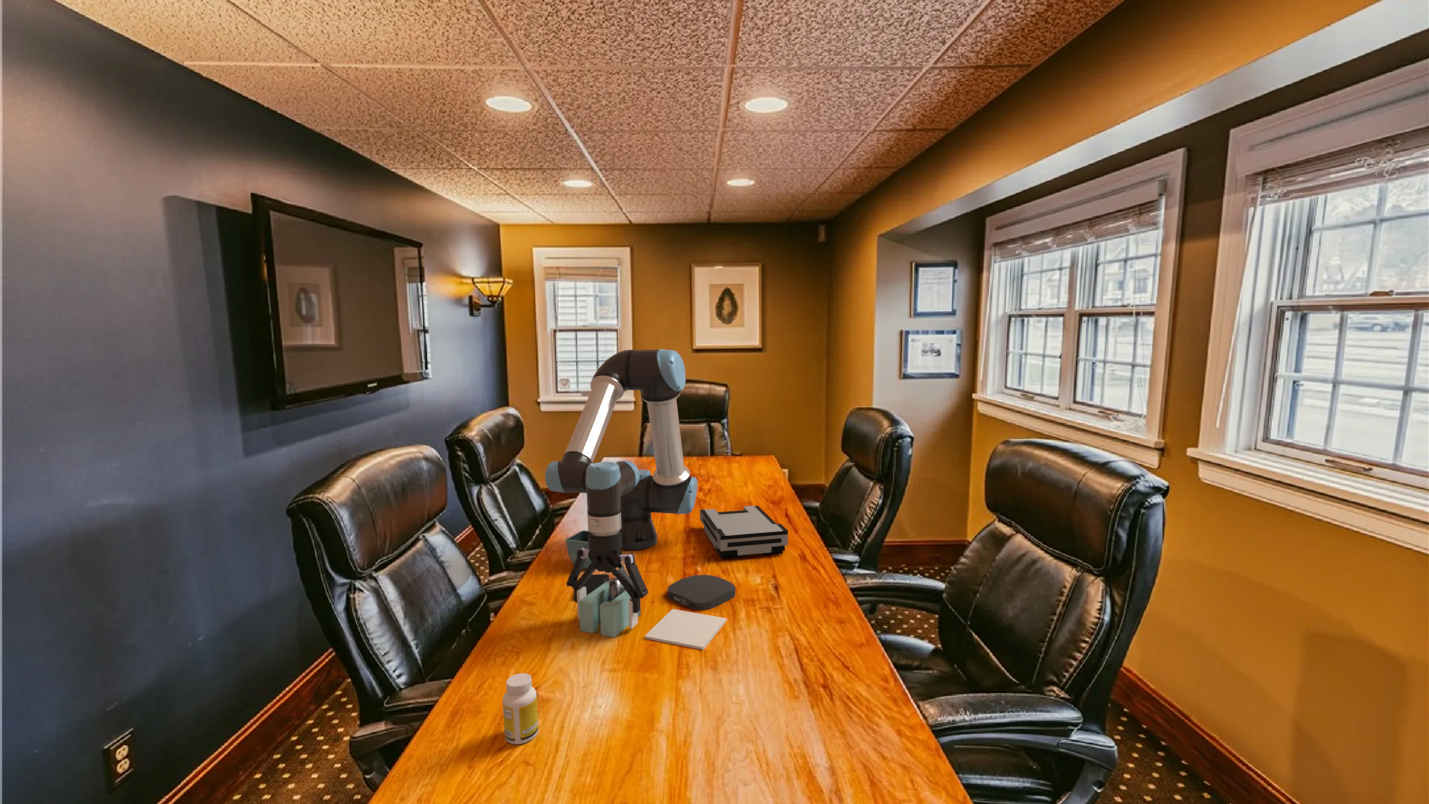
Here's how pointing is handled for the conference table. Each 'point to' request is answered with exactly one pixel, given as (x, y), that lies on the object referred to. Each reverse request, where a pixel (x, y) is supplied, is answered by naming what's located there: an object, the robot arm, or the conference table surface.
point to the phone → (595, 582)
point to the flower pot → (578, 546)
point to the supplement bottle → (520, 709)
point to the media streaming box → (701, 591)
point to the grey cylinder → (614, 588)
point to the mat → (686, 629)
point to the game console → (743, 532)
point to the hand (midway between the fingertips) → (607, 620)
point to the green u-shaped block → (604, 611)
